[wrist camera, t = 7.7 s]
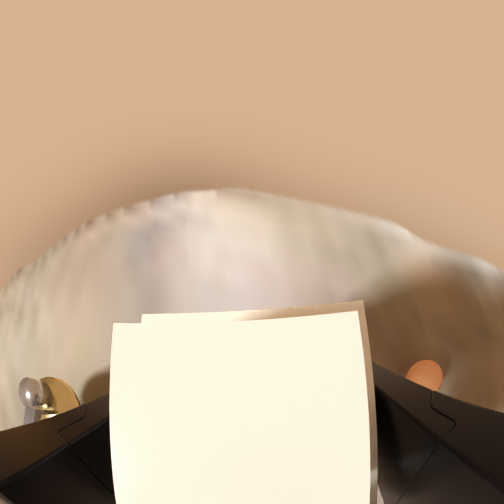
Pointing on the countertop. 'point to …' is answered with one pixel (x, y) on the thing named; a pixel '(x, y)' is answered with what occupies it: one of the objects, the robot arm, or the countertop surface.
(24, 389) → the balance
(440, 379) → the ball
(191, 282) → the countertop surface
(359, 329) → the offset cream blocks
